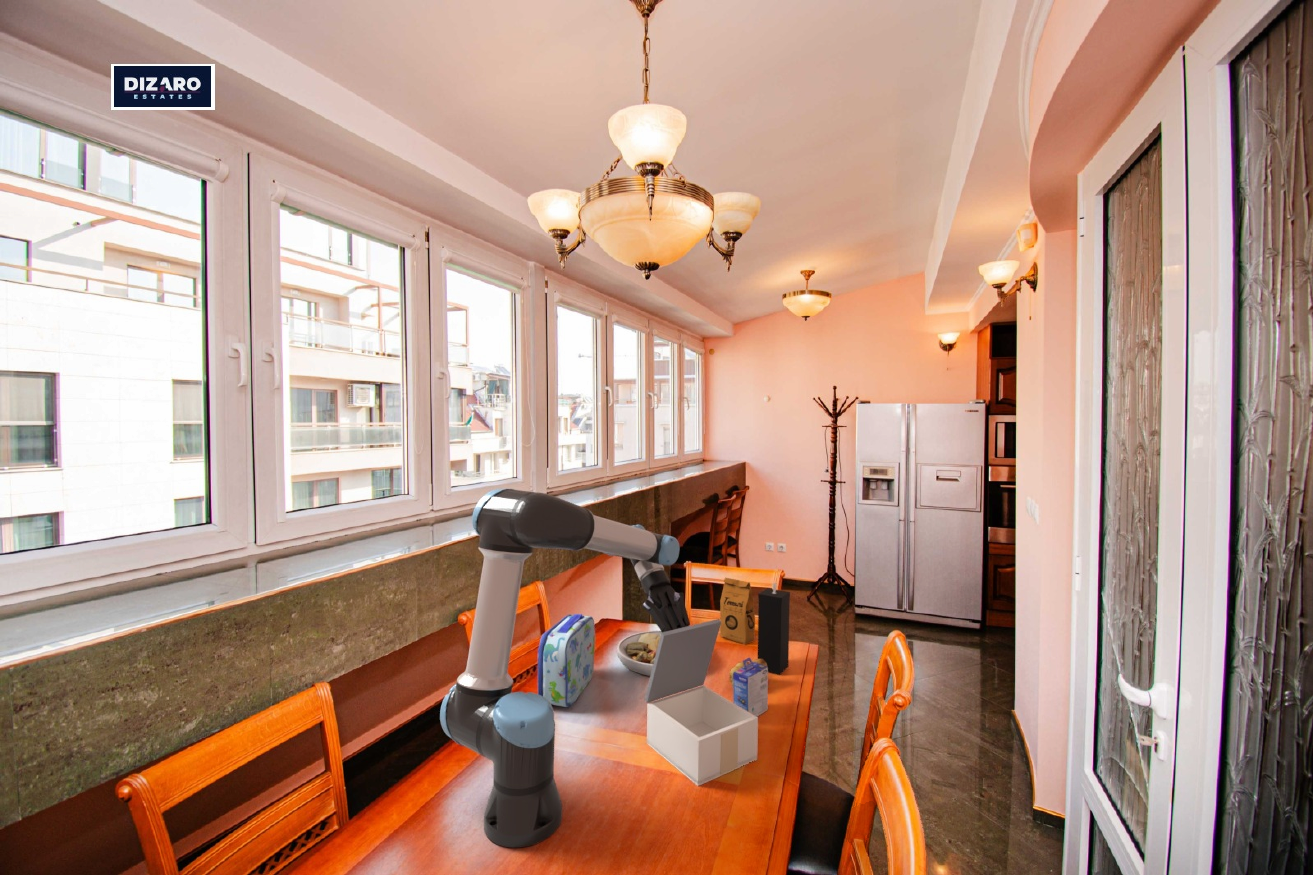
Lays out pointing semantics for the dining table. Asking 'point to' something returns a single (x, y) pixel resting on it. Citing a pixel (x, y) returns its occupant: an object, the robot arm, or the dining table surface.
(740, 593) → the coffee package
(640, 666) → the bowl
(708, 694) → the storage box
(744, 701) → the ink cartridge box
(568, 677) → the lunch box
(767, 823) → the dining table surface
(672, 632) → the box lid
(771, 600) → the black pillar candle
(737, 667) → the bread roll
